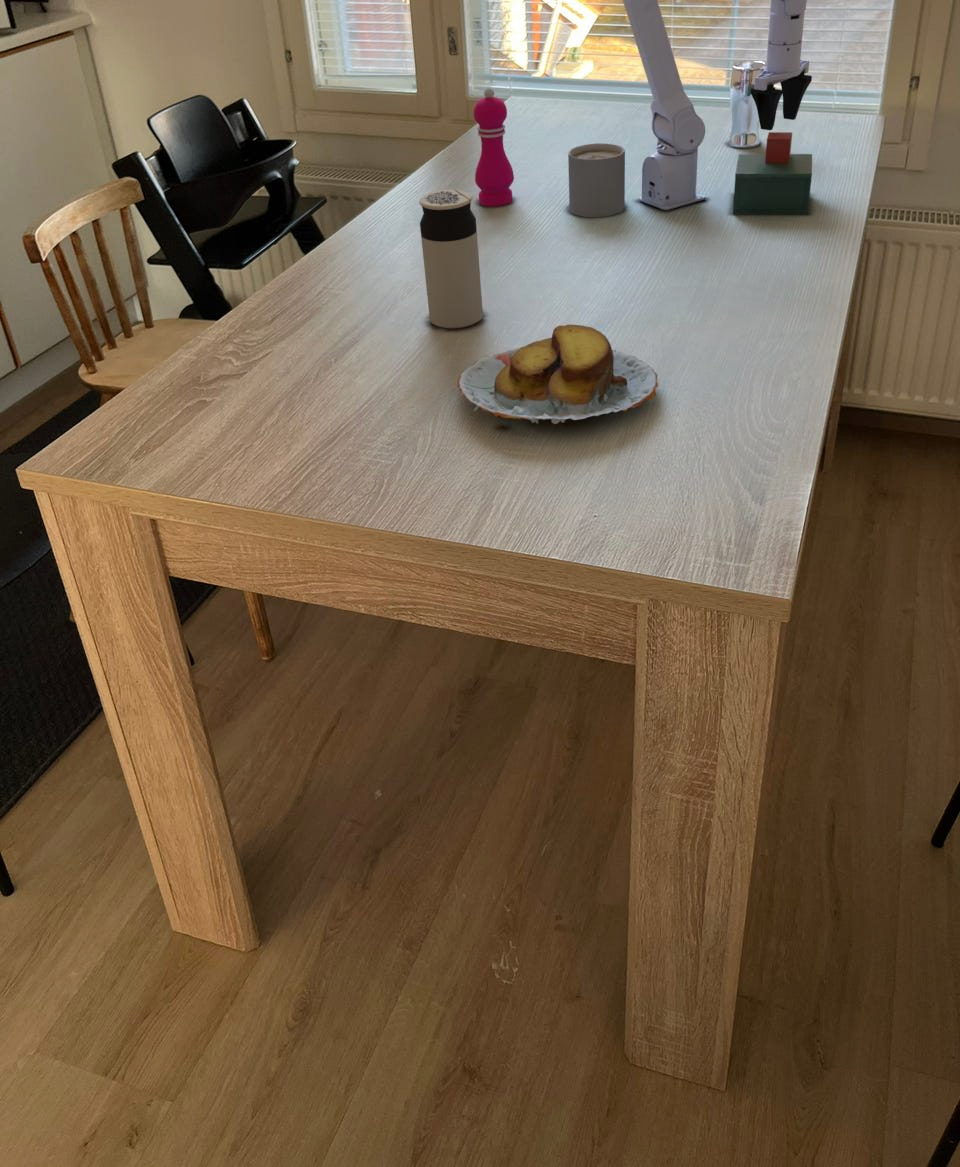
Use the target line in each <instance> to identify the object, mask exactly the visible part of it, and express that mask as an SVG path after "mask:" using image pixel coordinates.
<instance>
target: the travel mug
mask: <svg viewBox="0 0 960 1167" xmlns="http://www.w3.org/2000/svg"><path fill="white" fill-rule="evenodd" d="M472 201H473V195H472V193H471V192H468V191H465V190H462V189H442V190H441V189H440V190H435V191H432V192H429V193H427V194H425V195H423V196H421V197H420V198H419V203H418V204H419V205H420V206H421V208H422V212H423V214H422V217H421V219H420V221H419V230H420V240H421V248H422V259H423V267H424V278H425V286H426V296H427V306H428V316H429V322H430V323H431V324H433V325H434V326H437V327H440V328H442V329H452V330H453V329H463V328H467V327H470V326H473V325H474V324H476V323H478V322H480V321H481V320H482V319H483V316H484V311H483V298H482V283H481V270H480V269H481V268H480V258H479V255H480V254H479V243H478V229H477V218H476V216H475V214H474V213H473V211H472V210H471V207H472V206H471V203H472Z"/></svg>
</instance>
